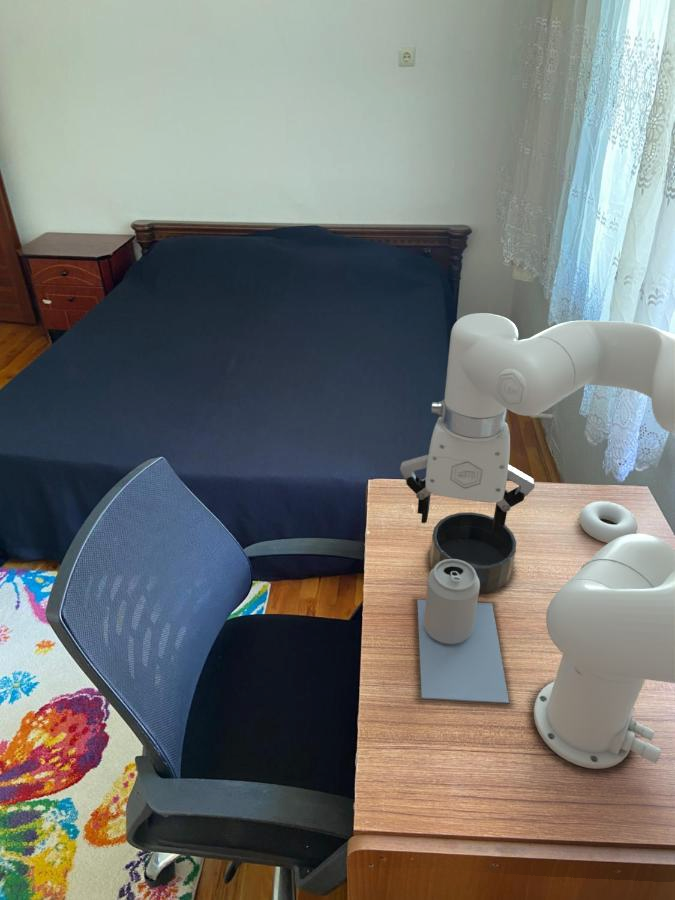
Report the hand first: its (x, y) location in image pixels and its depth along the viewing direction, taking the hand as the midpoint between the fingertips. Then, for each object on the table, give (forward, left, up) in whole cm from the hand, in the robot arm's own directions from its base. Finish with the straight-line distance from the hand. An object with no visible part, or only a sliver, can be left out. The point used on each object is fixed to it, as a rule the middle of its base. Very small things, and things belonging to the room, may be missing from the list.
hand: (460, 522), depth 88 cm
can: (0, +1, -21) cm, 21 cm away
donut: (-15, -37, -21) cm, 45 cm away
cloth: (-4, +3, -21) cm, 22 cm away
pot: (+2, -14, -21) cm, 26 cm away
